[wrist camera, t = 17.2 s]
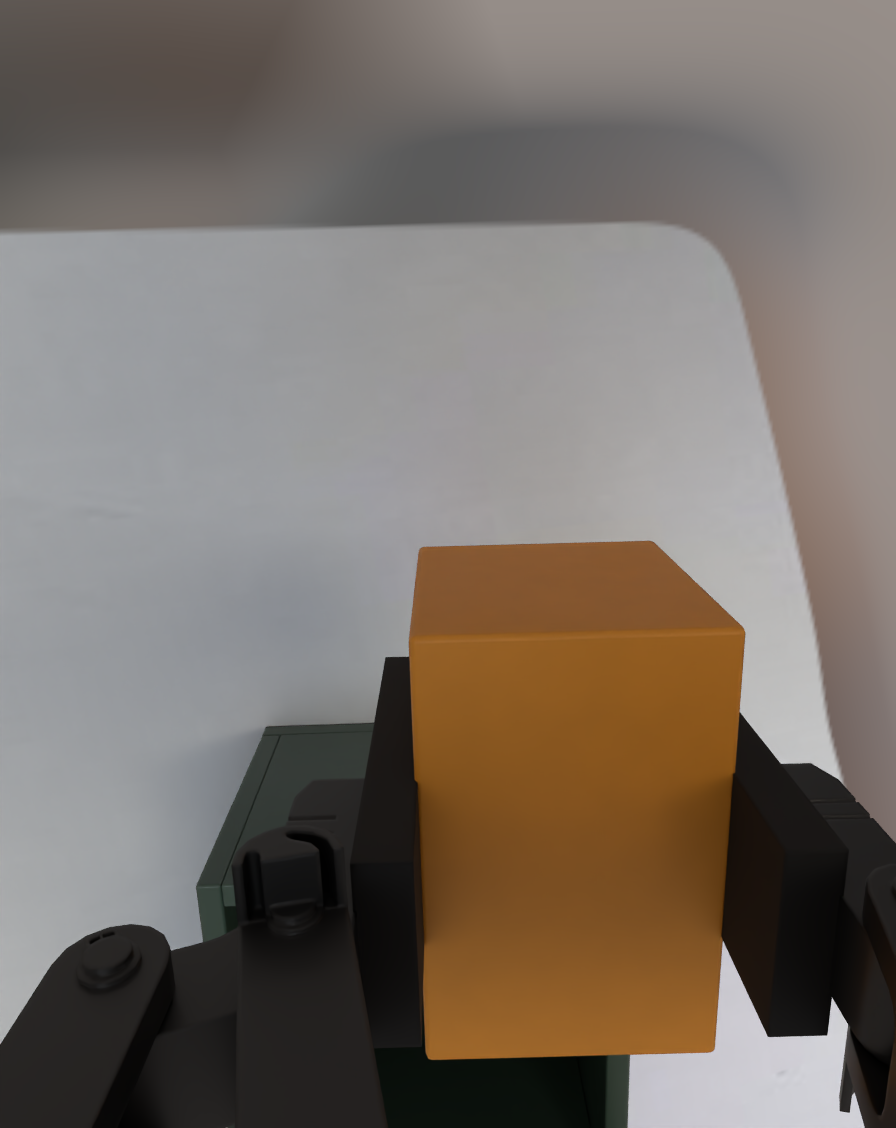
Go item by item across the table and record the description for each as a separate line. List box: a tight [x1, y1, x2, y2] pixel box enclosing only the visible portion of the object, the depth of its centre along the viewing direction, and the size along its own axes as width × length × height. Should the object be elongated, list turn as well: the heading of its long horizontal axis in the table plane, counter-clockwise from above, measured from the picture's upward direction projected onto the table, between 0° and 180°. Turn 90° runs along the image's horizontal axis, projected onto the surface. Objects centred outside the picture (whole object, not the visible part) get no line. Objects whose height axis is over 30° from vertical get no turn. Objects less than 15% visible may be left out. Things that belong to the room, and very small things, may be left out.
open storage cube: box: [196, 723, 630, 1128], centre depth 32 cm, size 14×14×11 cm
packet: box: [409, 541, 745, 1060], centre depth 14 cm, size 7×4×5 cm, turn 2°
